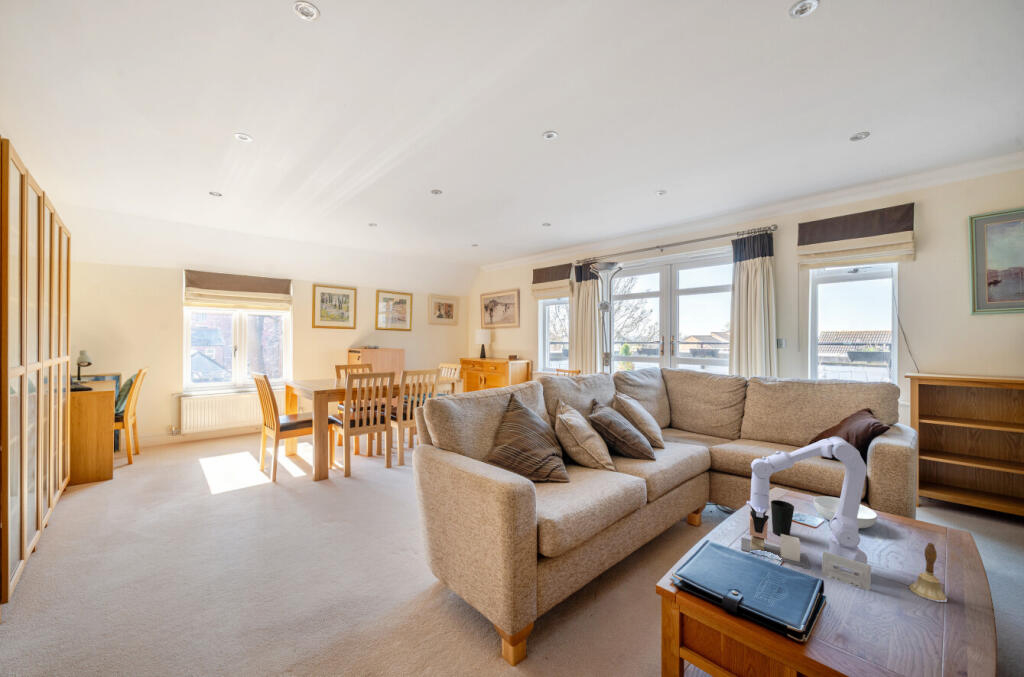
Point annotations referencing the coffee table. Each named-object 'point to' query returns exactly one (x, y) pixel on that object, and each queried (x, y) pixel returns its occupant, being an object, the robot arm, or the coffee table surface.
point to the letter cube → (757, 543)
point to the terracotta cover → (753, 533)
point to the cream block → (790, 547)
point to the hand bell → (928, 578)
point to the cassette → (845, 576)
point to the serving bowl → (830, 506)
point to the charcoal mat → (775, 550)
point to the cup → (781, 517)
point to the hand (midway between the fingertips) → (758, 528)
